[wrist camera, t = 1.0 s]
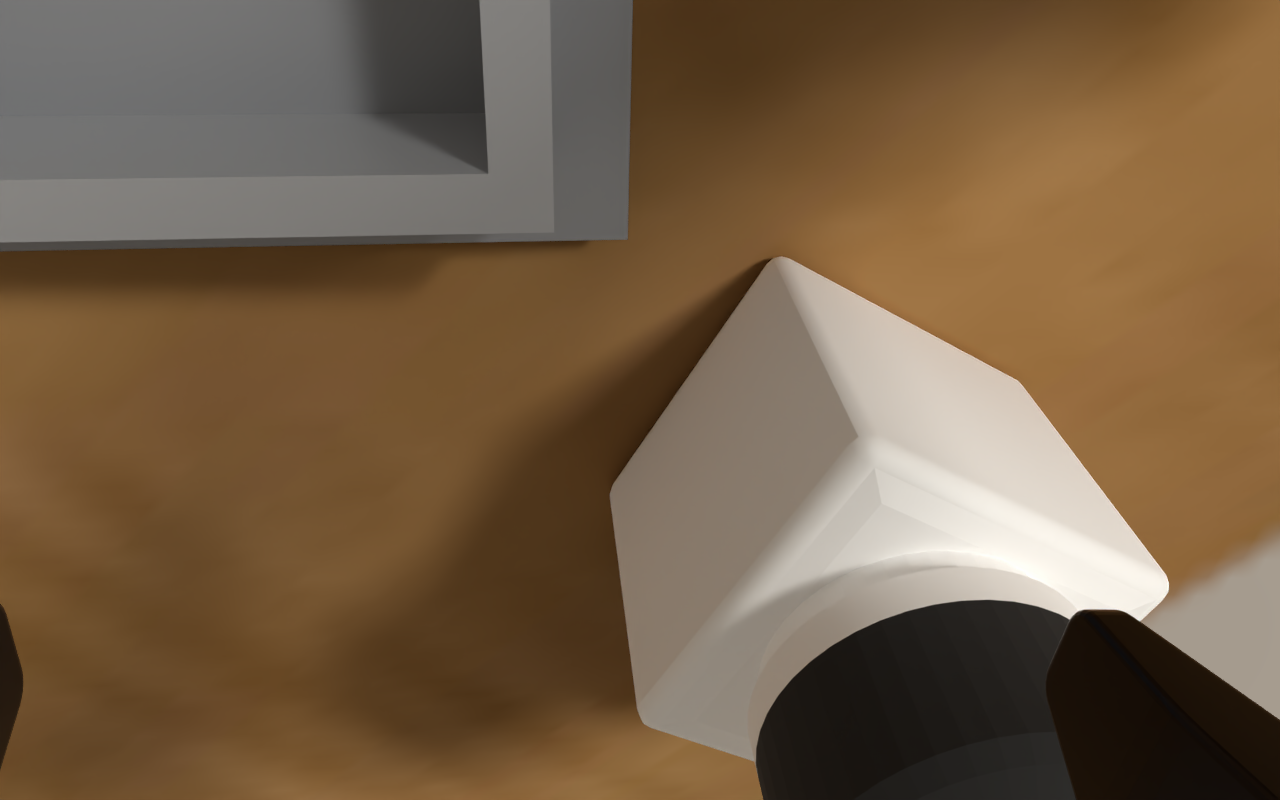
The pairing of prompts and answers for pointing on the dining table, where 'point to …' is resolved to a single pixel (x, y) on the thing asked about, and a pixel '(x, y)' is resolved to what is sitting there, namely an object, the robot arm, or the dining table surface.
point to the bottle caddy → (312, 122)
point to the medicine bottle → (861, 557)
